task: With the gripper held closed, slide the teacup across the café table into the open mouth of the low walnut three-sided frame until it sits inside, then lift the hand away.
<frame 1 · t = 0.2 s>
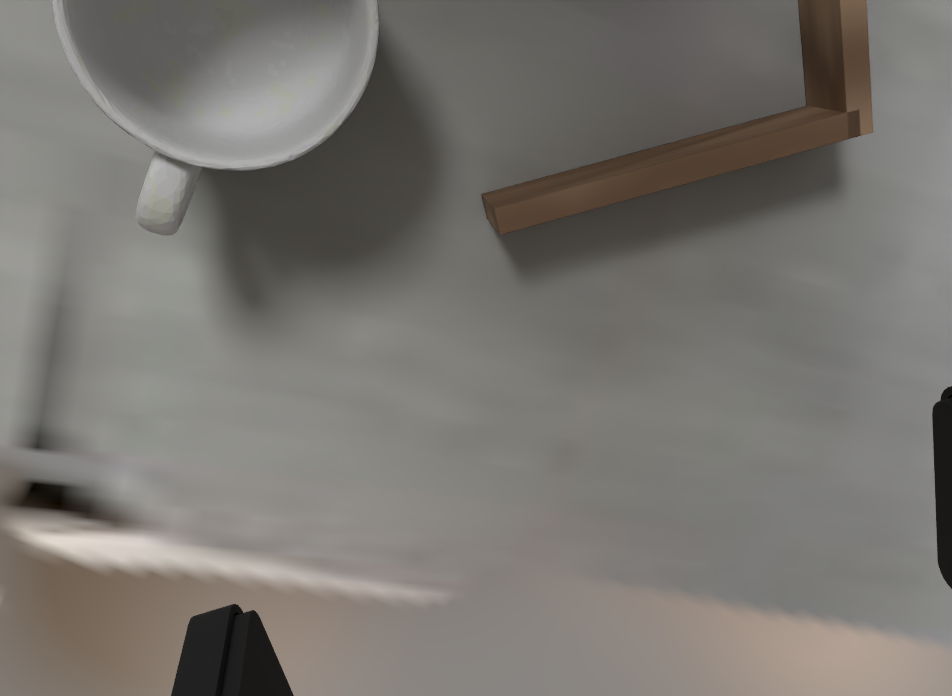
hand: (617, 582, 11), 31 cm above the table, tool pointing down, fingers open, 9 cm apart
teacup: (225, 49, 37), on the table
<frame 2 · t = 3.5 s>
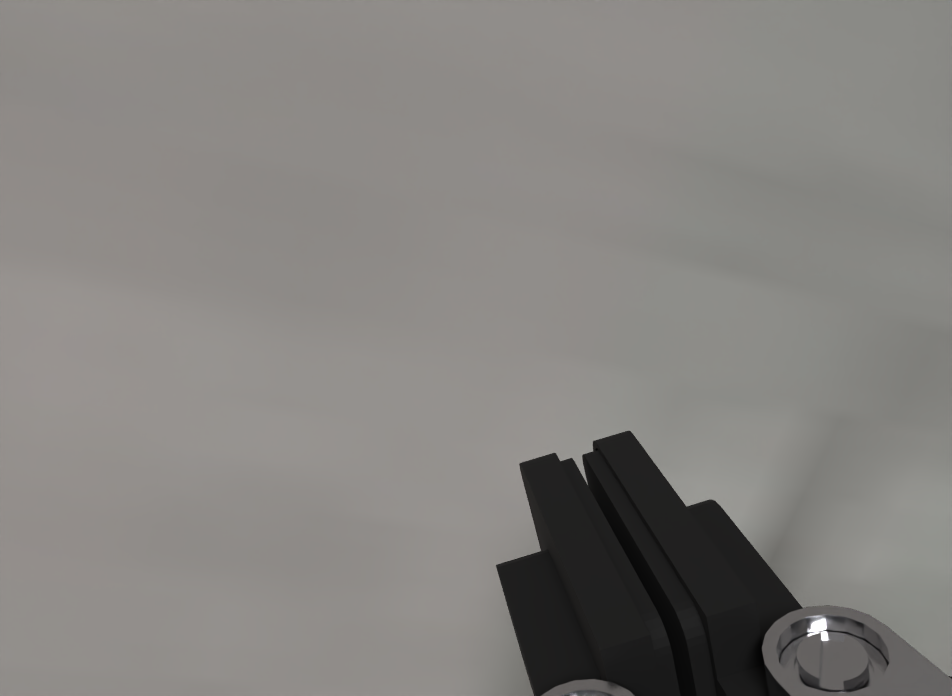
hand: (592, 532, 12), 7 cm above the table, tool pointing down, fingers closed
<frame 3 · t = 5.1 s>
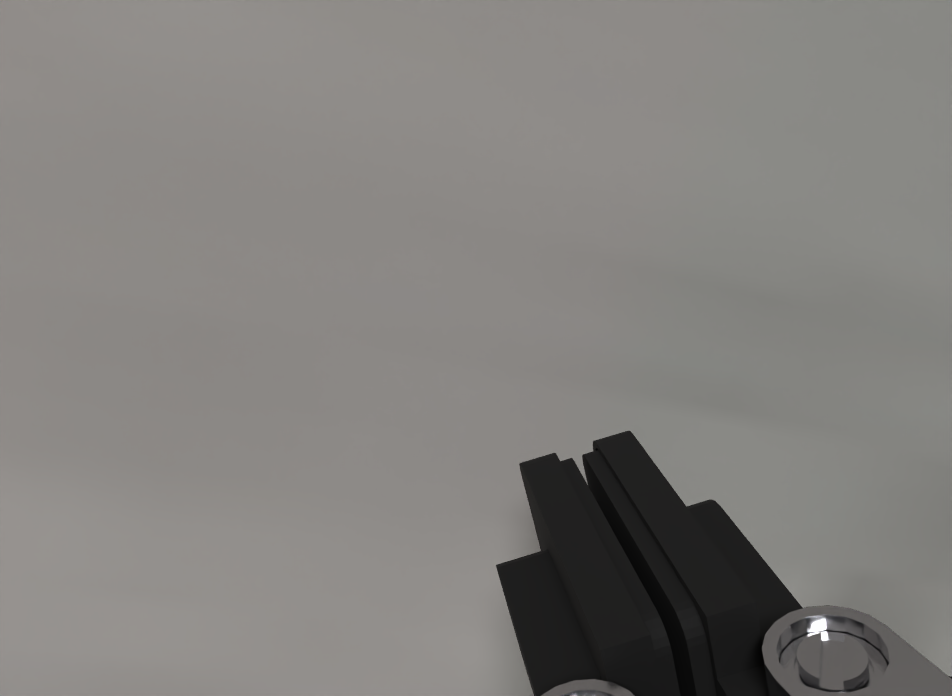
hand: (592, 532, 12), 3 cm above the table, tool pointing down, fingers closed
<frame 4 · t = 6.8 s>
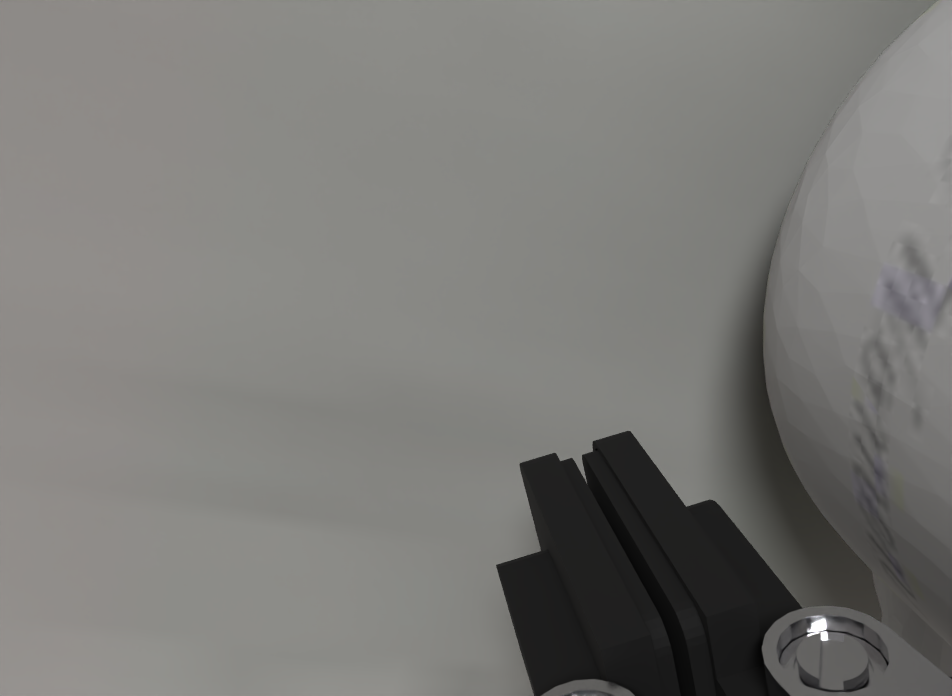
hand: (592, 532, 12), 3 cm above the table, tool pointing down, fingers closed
teacup: (913, 318, 15), on the table, touching gripper
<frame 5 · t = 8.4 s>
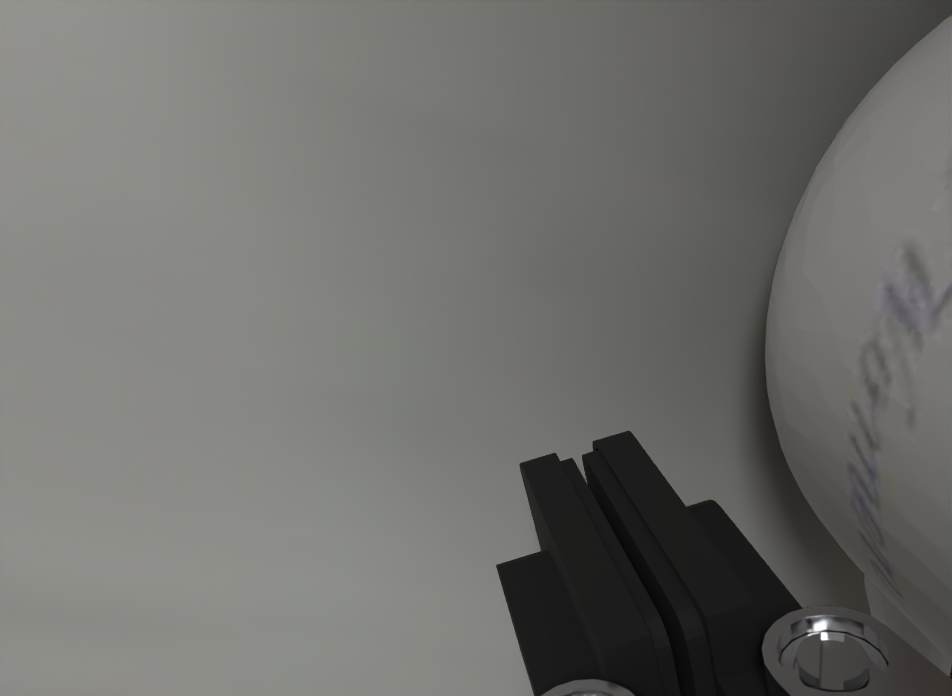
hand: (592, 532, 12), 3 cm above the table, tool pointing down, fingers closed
teacup: (915, 329, 16), on the table, touching gripper
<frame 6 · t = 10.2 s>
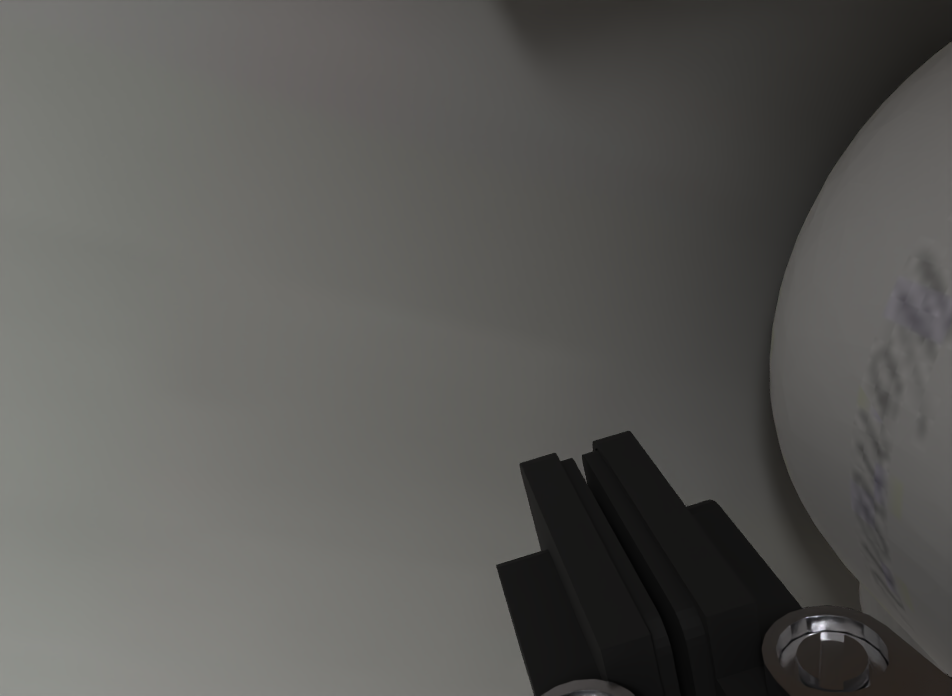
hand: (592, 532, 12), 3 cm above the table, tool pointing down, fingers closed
teacup: (915, 344, 16), on the table, touching gripper
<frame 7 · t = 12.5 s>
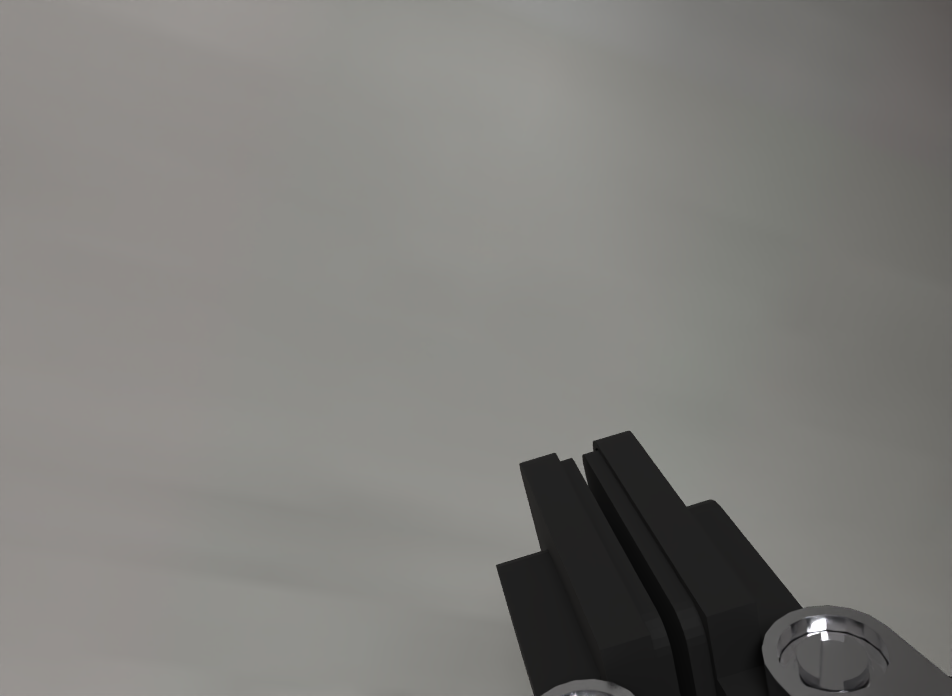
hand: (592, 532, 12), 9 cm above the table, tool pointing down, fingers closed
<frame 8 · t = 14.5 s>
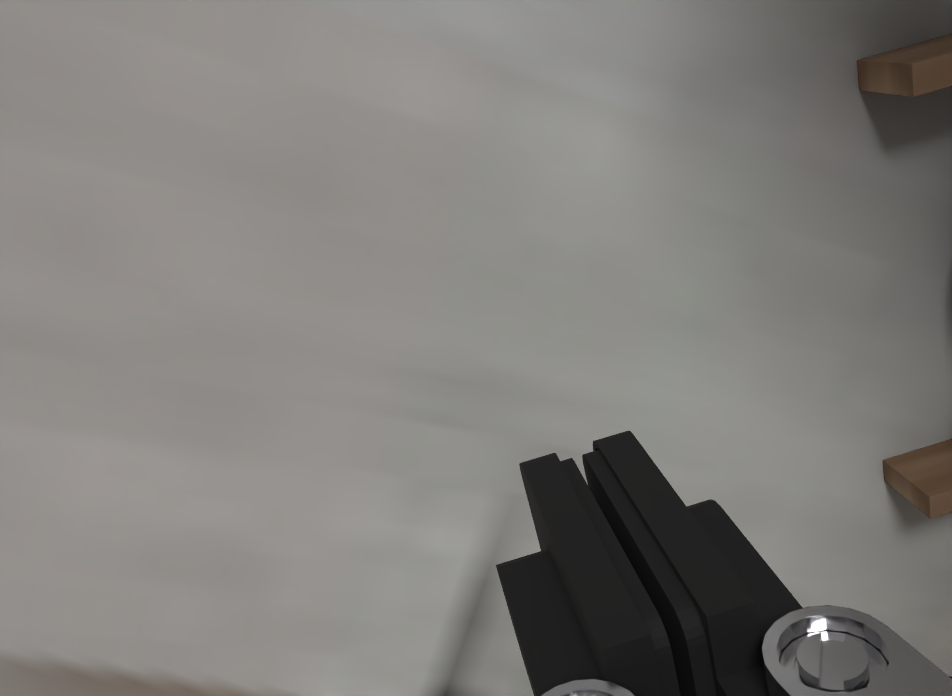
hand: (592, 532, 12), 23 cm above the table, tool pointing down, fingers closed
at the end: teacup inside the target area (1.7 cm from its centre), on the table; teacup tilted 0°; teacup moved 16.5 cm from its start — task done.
